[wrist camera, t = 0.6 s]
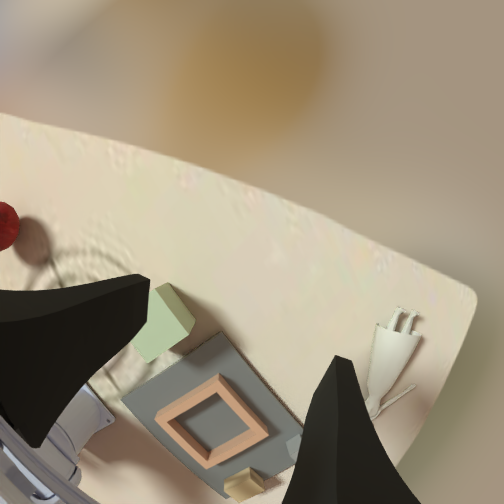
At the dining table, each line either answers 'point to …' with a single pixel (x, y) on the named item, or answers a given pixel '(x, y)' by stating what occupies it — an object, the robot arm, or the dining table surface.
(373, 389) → the woman figurine
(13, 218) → the onion
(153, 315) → the sage green cube
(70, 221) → the dining table surface
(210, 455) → the housing
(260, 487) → the tan eraser block
